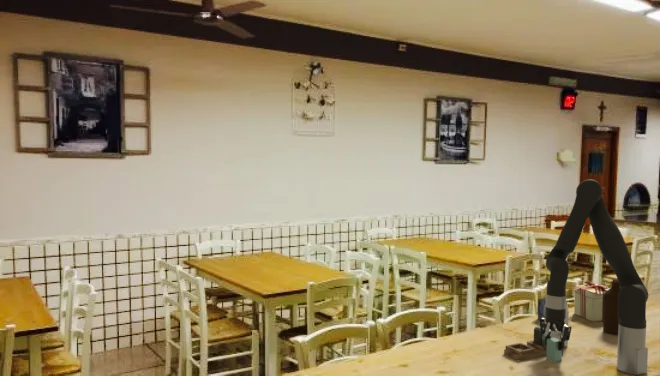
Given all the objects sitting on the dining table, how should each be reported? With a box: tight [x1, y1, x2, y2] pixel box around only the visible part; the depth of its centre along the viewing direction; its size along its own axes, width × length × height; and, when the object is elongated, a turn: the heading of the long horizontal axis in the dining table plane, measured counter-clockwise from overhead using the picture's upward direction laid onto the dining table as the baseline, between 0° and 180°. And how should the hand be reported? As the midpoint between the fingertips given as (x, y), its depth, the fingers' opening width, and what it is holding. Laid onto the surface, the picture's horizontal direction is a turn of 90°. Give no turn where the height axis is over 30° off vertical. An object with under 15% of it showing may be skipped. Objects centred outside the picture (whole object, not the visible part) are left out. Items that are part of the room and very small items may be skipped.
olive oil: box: [602, 277, 621, 336], centre depth 259 cm, size 11×11×25 cm
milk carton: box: [550, 300, 570, 347], centre depth 242 cm, size 7×7×19 cm
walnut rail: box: [503, 325, 547, 361], centre depth 230 cm, size 8×22×10 cm, turn 117°
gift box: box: [573, 281, 611, 322], centre depth 284 cm, size 17×18×17 cm
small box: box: [537, 297, 546, 320], centre depth 277 cm, size 11×6×10 cm, turn 25°
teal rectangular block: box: [546, 338, 564, 363], centre depth 223 cm, size 4×5×8 cm
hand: (554, 347), depth 223 cm, fingers open, 5 cm apart
